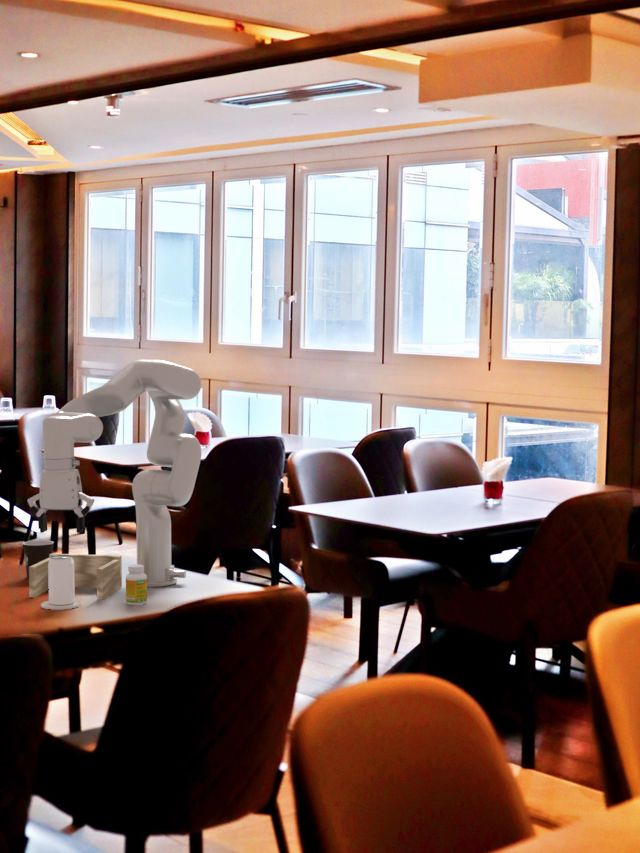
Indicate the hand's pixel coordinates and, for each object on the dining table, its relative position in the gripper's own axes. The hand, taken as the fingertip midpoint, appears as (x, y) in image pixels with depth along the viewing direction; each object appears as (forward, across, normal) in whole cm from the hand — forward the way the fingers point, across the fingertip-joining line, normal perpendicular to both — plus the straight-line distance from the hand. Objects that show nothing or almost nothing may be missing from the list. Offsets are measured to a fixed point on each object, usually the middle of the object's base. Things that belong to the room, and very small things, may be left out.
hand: (61, 531), depth 307 cm
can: (+18, 0, +1) cm, 18 cm away
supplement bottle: (+20, -18, -5) cm, 27 cm away
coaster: (+19, 0, +1) cm, 19 cm away
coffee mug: (+20, +20, -35) cm, 45 cm away
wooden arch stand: (+19, +2, -15) cm, 24 cm away
